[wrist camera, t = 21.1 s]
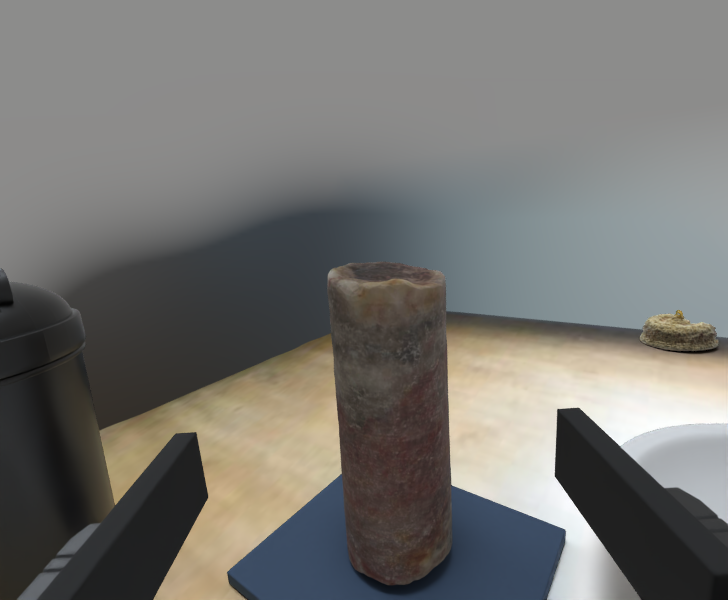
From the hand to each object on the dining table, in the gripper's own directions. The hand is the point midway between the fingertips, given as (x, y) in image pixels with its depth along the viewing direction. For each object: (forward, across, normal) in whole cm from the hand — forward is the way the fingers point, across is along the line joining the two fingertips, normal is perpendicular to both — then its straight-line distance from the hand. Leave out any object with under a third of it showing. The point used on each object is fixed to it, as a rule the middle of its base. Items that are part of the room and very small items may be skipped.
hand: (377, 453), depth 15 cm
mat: (+10, +1, -16) cm, 19 cm away
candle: (+11, +1, -15) cm, 19 cm away
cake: (+48, +48, -16) cm, 69 cm away
